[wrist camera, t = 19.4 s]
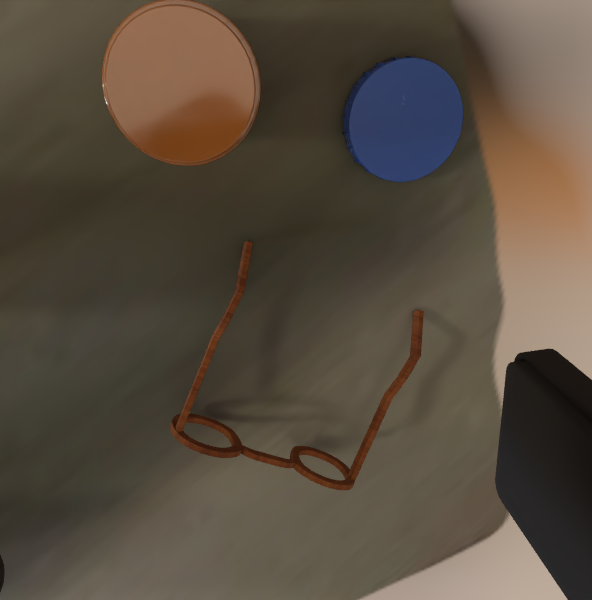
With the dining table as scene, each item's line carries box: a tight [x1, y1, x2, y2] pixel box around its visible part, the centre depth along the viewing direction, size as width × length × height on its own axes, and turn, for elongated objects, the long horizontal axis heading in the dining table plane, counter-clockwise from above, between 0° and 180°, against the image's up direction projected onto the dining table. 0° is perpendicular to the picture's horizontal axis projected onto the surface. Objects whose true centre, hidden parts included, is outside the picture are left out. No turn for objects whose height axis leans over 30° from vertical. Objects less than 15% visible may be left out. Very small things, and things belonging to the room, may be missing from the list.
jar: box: [102, 0, 261, 166], centre depth 24 cm, size 6×6×10 cm
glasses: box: [170, 241, 423, 490], centre depth 35 cm, size 13×13×5 cm
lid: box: [342, 56, 463, 182], centre depth 31 cm, size 7×7×2 cm
